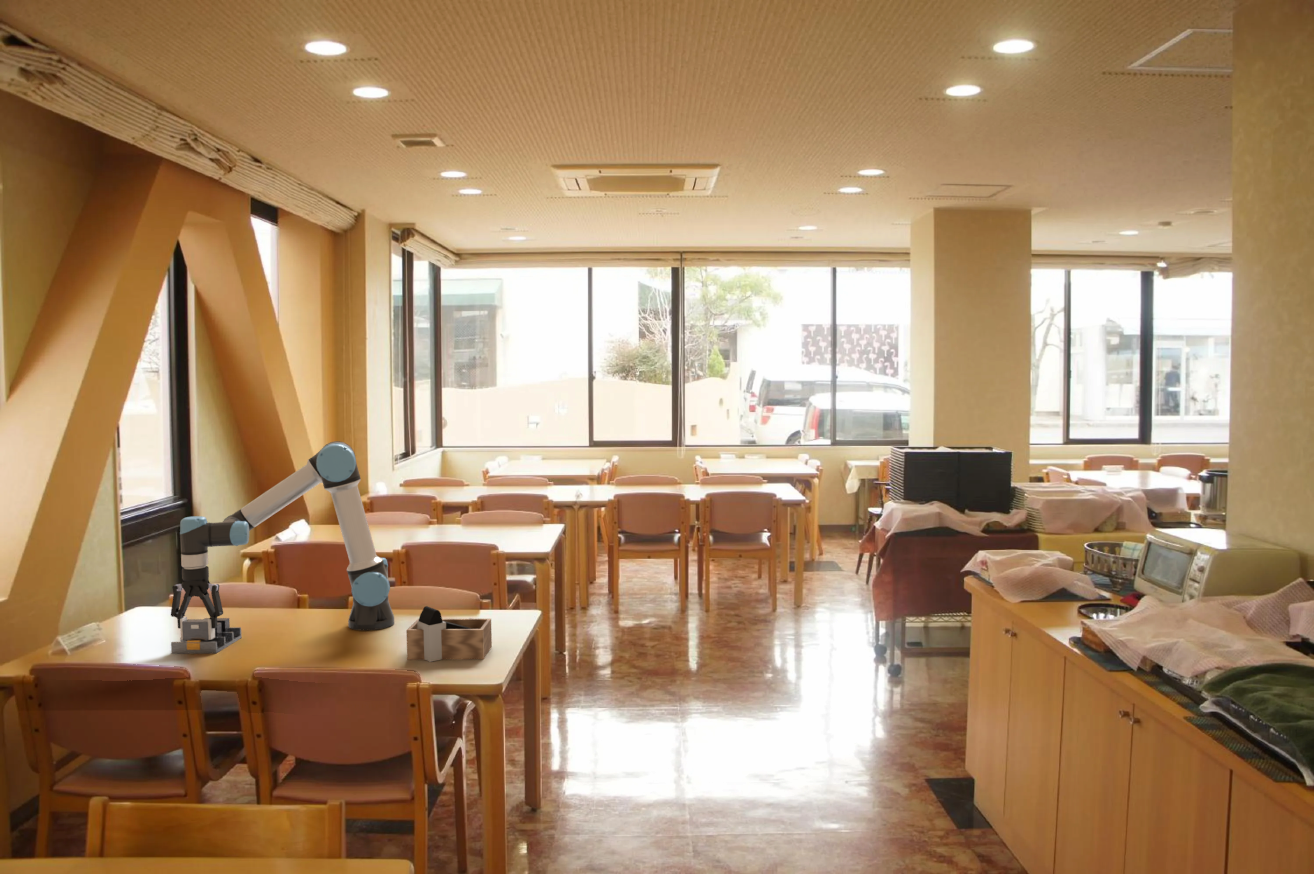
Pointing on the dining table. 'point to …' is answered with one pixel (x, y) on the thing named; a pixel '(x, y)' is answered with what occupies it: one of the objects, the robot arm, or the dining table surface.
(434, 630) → the decorative object
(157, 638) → the dining table surface
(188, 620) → the gray labeled box
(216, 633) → the rack
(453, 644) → the open wooden box
